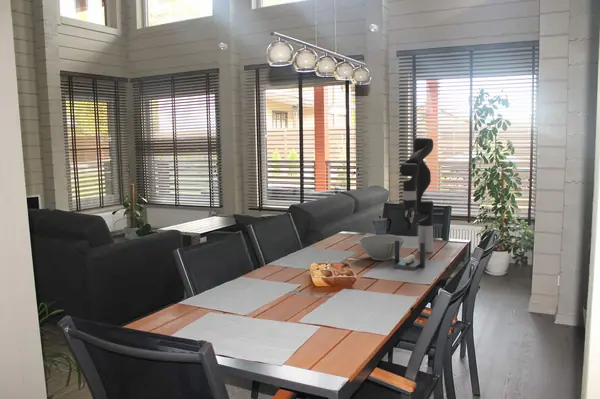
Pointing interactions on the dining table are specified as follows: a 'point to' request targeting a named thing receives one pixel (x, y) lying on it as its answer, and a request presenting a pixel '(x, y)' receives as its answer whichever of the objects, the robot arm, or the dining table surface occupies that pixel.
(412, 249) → the dining table surface
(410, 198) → the robot arm
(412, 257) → the paddles
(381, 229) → the moka pot
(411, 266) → the panel
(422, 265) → the cord post
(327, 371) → the dining table surface
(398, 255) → the dark gray rounded rod
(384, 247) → the decorative bowl
